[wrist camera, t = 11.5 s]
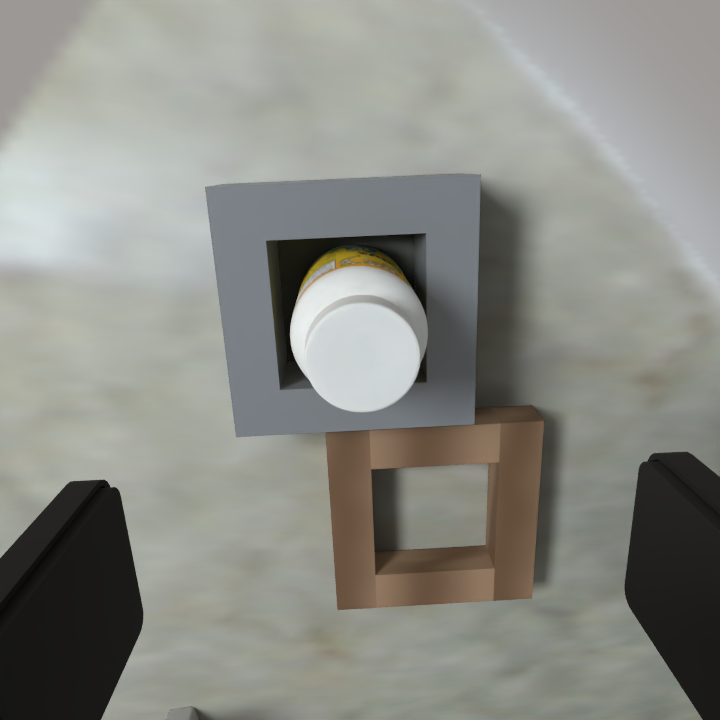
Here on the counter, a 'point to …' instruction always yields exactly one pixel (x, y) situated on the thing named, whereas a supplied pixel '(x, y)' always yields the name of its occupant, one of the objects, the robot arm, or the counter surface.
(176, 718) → the silver flip-top case
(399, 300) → the supplement bottle
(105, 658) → the robot arm
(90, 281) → the counter surface
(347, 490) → the shallow holder
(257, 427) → the socket block
